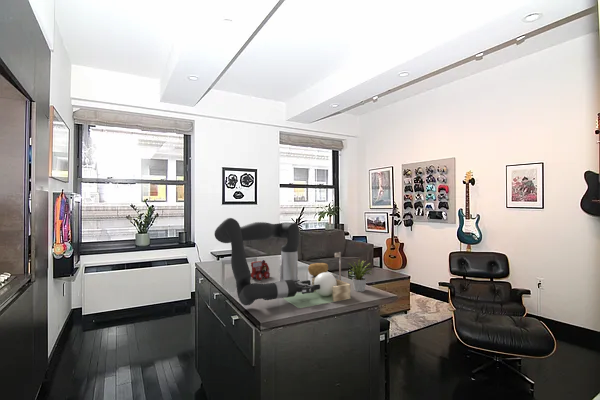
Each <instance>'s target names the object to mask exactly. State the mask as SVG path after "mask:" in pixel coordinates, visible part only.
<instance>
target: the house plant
mask: <svg viewBox="0 0 600 400" xmlns="http://www.w3.org/2000/svg"><path fill="white" fill-rule="evenodd" d="M360 260H361V259H360V258H358V260H357V261H358V264H357V263H356V262H355V261H351V262H348V264H349V266H350V267H352V268H350V271H349V272H348V274H353V275H354V277H352V279H351V280H352V284H353V289H354V291H355V292H365V291H366V284H367V278H366V277H365V276H366V275H370V276H371V275H372V271H370V270H372V268H368V267H369V266H370V265H371V262H369V263H367V264H366V265H365V266H364V264H365V262H366V260H365V261H364V259H363V260H362V261H361V262H360ZM352 262H353V263H354V265H353V263H352ZM363 266H364V267H363Z"/></svg>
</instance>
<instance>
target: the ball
mask: <svg viewBox="0 0 600 400" xmlns="http://www.w3.org/2000/svg"><path fill="white" fill-rule="evenodd" d="M315 277H316V278H315ZM315 277H314V278H315V280H314V285H317V284H319V285H320V289H319V290H316V292H317V293H318V294H320V295H322V296H329V295H331V294H333V286H337V282H336V279H337V278H336V277H335V276H334V275H333V274H331V273H330V272H324V273H320V274H319V275H317V276H315Z"/></svg>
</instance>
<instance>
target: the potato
mask: <svg viewBox="0 0 600 400" xmlns="http://www.w3.org/2000/svg"><path fill="white" fill-rule="evenodd" d="M328 270H329V264H328V263H325V262H315V263H311V264H309V265H308V267H307V271H308V274H309V275H311V276H312V277H317V275H319V274H320V273H324V272H326V273H328Z"/></svg>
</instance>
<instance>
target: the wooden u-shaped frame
mask: <svg viewBox="0 0 600 400" xmlns="http://www.w3.org/2000/svg"><path fill="white" fill-rule="evenodd" d="M334 258H336V259H337V258H339V259H338V260H339V261H338V264H339V266H338V268H339V269H338V271H339V274H338V275H339V277H338V279H337V278H335V279H336V282H337V286H333V301H334V302H333V303H335V301H336V302H340V300H341V301H345V299H346V300H350V298H351V283H348V282H346V281H343V280H342V268H341V267H342V263H341V262H342V252H341V251H339V252H334ZM316 277H317V276H314V277H312V278H311V285H314V280H315V278H316ZM314 291H316V290H314Z"/></svg>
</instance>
